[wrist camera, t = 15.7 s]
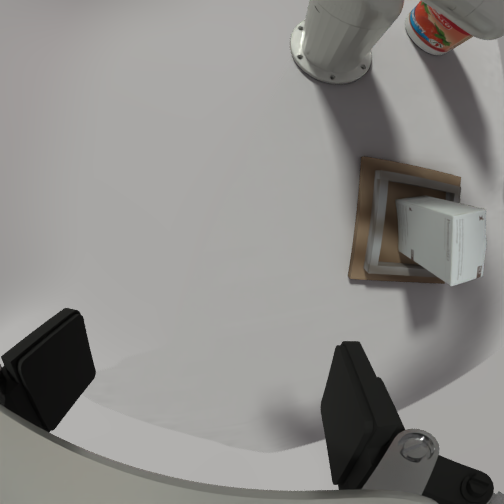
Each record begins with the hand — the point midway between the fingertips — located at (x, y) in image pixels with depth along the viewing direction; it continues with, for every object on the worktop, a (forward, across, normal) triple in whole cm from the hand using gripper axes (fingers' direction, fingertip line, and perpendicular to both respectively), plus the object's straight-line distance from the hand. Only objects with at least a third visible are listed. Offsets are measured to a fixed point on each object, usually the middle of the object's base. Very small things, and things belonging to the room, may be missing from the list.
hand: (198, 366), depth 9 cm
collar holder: (+33, -24, -2) cm, 41 cm away
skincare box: (+32, -24, -2) cm, 40 cm away
